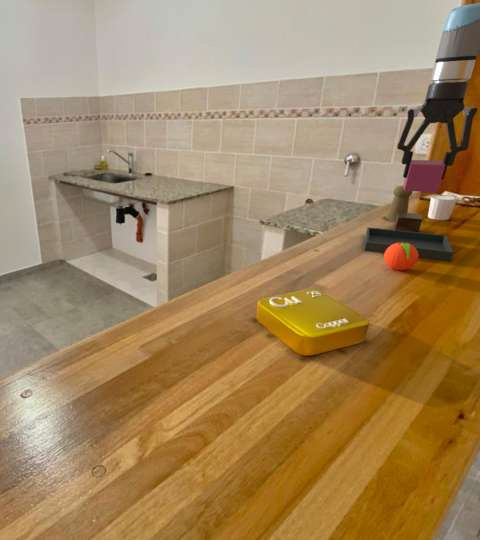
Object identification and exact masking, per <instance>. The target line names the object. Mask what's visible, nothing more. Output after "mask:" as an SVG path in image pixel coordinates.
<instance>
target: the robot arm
mask: <svg viewBox="0 0 480 540" xmlns="http://www.w3.org/2000/svg"><path fill="white" fill-rule="evenodd" d="M478 55H480V2H477V3H470V4H465V5H459V6H457V7H454V8H452V9H451V10H450V11H449V12H448V14H447V16H446V19H445V22H444V26H443V28H442V30H441V37H440V41H439V45H438V49H437V53H436V57H435V61H434V65H433V68H432V71H431V72H432V73H431V76H430V80H429V81H431V82H432V83H430V84H429V85H428V87H427V91H426V95H425V100H424V102H423V104H422V105H421V106H420V107H417V108H416V107H415V108H409V109H408V110H407V119H406V121H405V125H404V127H403V129H402V131H401V135H400V138H399V140H398V143H397V146H396V147H397V150H399V151H402V152H403V155H402V159H401V164H402V165H405V166H404V170H403V173H402V177H403V178H404V179H405V178H407V175H408V171H409V167H410V163H411V160H413V156H414V151H412V149H413V148H414V147H415V145H416V144H417V142H418V141H419V139H420V138H421V137H422V135H423V134H424V132H425V131H426V129H427V128H428V127H429V125H430V124H437V123H440V124H445V128H446V133H447V139H448V145H449V151H445V152H444V153H445V154H444V157H443V160H442V161H443V163H444V164H445V168H444V172H443V175H442V178H441V181H442V180H444V179H445V175H446V172H447V168H448V167H452V166H453V165H454V163H455V159H456V157H457V154H459V153H460V152H464V151H467V150H468V149H469V145H470V138H471V134H472V126H473V121H474V117H475V116H476V114H477V113H478V111H479V109H478V108H477V107H475V106H472V107H471V106H465V98H466V94H467V92H468V91H467V90H468V88H469V85H470V84H469V82H468V81H467V80H470V79H471V77H472V74H473V70H474V67H475V64H476V60H477V57H478ZM461 112H463V113H462V116H463V117H464V121H463V126H462V127H463V128H462V133H461V139H460V144H459V145H458V142H457V136H456V135H457V134H456V130H455V121H454V118H456V117H457V116H458V115H459V114H460V113H461ZM419 113H421V114H422V116H423V118H424V119H423V121H422V122H421V123H420V126H418V128H417V130H416V131H415V133H414V134H413V136H412V137H411V138H410V140H409V142H408V143H407V144H406V145H405V143H406V141H407V139H408V136H409V133H410V130H411V128H412V125H413V123H414V119H415V118H417V117H418V115H419Z"/></svg>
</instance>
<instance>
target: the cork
mask: <svg viewBox="0 0 480 540" xmlns="http://www.w3.org/2000/svg"><path fill="white" fill-rule="evenodd" d="M393 189H394V190H393V195H394V197H393V198H392V201H391V204H390V206H389V209H388V211H387V213H386V216H385V218H386V219H388V220H390V221H391V220H392V221H395V220H396V216H397V213H398V212H402V213H409V202H410V197H411V196H412V194H413V192H414V191H404V187H403V185H398V186H396V187H395V188H393Z"/></svg>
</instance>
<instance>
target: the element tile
mask: <svg viewBox="0 0 480 540" xmlns="http://www.w3.org/2000/svg"><path fill="white" fill-rule="evenodd" d="M255 318H256V321H257V322H258V323H260V325H262V326H263V327H264V328H265V329H266V330H268V331H269V332H270V333H271V334H272V335H274V336H275V337H276V338H277V339H278V340H280V341H281V342H282V343H284V344H285V345H286V346H287V347H288V348H290V349H291V350H292V351H293V352H294V353H296V354H298V355H300V356H304V357H310V356H311V357H312V356H317V355H320V354H324V353H327V352H332V351H335V350H338V349H342V348H343V349H344V348H346V347H350V346H351V347H352V346H354V345H359V344H362V343H364V342H365V341H366V338H367V335H368V331H369V327H370V320H369V318H368V317H367V316H366V315H363V314H361V313H360V312H358V311H356V310H355V309H353V308H352V307H349V306H348V305H346V304H345V303H342V302H341V301H339V300H337V299H335V298H334V297H332V296H330V294H329V295H328V294H327V293H325V292H324V291H321V290H319V289H318V288H305V289H300V290H295V291H290V292H287V293H280V294H276V295H272V296H267V297H263V298H260V299H258V300H257V306H256V316H255Z"/></svg>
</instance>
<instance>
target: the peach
mask: <svg viewBox="0 0 480 540" xmlns="http://www.w3.org/2000/svg"><path fill="white" fill-rule="evenodd" d="M383 255H384V256H383V258H384V262H385V264H386V265H387V266H388V267H389V268H391V269H393V270H395V271H405V270H409V269H411V268H413V267H414V266H415V265H416V264H417V262H418V260H419V257H418V256H419V255H418V251H417V250H416V248H415V247H414V246H412V245H411V244H408V243H405V242H404V243H403V242H399V243H395V244H393V245H391V246H390V247H388V249H387V250H386V252H385V253H383Z"/></svg>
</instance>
